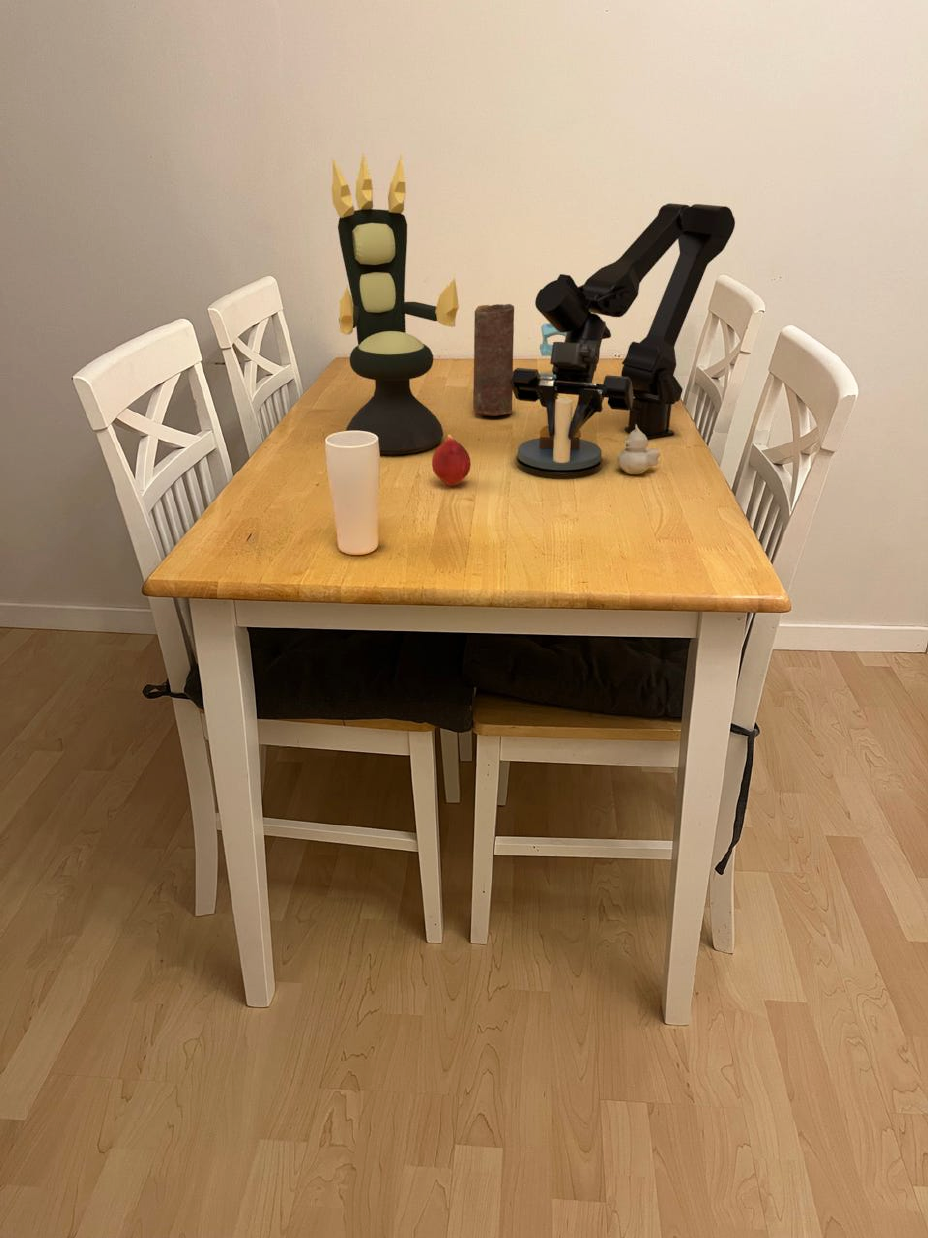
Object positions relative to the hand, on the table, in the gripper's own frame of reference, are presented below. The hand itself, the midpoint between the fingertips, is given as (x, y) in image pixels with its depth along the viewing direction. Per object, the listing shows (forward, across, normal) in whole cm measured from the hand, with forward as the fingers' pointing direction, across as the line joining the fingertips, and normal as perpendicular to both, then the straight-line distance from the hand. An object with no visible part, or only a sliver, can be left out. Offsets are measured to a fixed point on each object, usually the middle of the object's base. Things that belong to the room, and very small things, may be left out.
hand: (560, 437), depth 147 cm
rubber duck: (0, +11, +10) cm, 15 cm away
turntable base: (0, -2, +9) cm, 9 cm away
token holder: (-1, -2, +8) cm, 9 cm away
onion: (+11, -15, -1) cm, 18 cm away
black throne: (-2, -33, +12) cm, 35 cm away
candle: (-16, -20, +26) cm, 36 cm away
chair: (-36, -16, +45) cm, 60 cm away
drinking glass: (+30, -18, -20) cm, 40 cm away
